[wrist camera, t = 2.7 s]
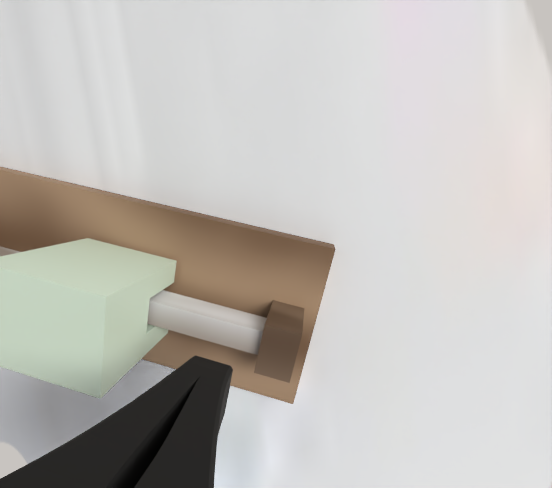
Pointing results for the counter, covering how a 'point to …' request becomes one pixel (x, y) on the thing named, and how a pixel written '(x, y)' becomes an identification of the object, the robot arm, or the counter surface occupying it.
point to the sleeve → (79, 312)
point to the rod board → (191, 275)
